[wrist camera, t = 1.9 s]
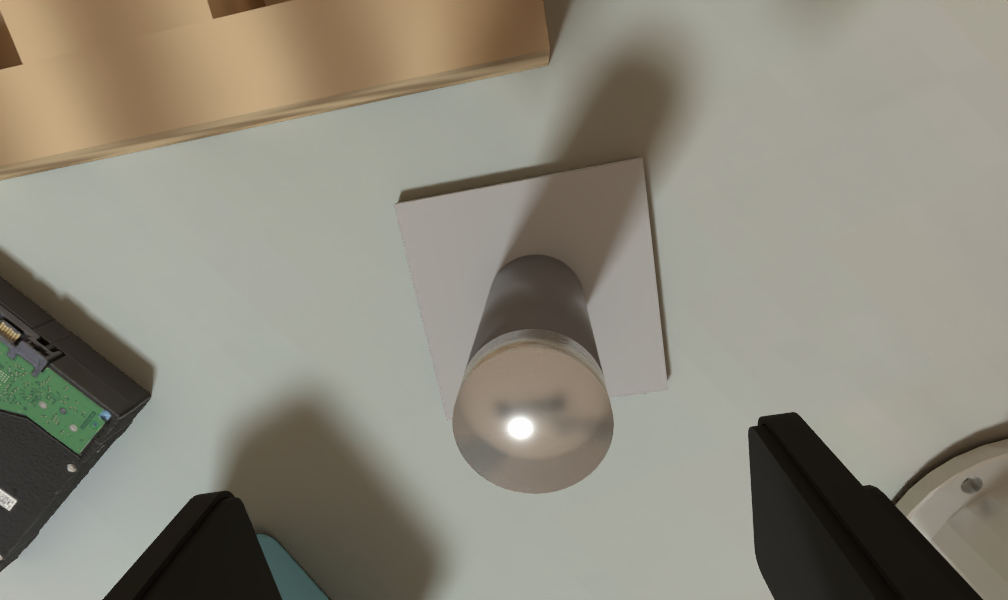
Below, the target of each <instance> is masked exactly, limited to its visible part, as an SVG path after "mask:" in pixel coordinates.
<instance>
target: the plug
mask: <svg viewBox="0 0 1008 600" xmlns="http://www.w3.org/2000/svg"><path fill="white" fill-rule="evenodd" d="M452 422H453V432H454V437H455V440H456V443H457V446H458V448H459V450H460V452H461V454H462V455H463V457H464V458H465V460H466V461H467V463H468V464H469V465H470V466H471V467H472V468H473V469H474V470H475V471H476V472H477V473H478V474H479V475H481V476H482V477H484V478H485V479H486V480H488V481H490V482H492V483H493V484H495V485H497V486H500V487H502V488H505V489H508V490H512V491H516V492H522V493H534V494H536V493H548V492H554V491H558V490H561V489H565V488H567V487H569V486H572V485H574V484H576V483H577V482H579V481H581V480H583V479H584V478H585V477H587V476H588V475H589V474H590V473H591V472H592V471H593V470H595V469H596V468H597V466H598V465H599V464H600V463H601V461H602V460H603V458H604V457H605V455H606V453H607V451H608V449H609V446H610V444H611V440H612V435H613V426H614V423H613V413H612V409H611V404H610V400H609V396H608V392H607V388H606V384H605V380H604V375H603V371H602V367H601V363H600V359H599V355H598V351H597V347H596V342H595V338H594V334H593V330H592V326H591V322H590V318H589V314H588V309H587V305H586V301H585V297H584V293H583V289H582V286H581V283H580V281H579V279H578V277H577V276H576V274H575V273H574V271H573V270H572V269H571V268H570V267H569V266H567V265H566V264H565V263H563V262H562V261H560V260H558V259H556V258H553V257H550V256H547V255H537V254H534V255H526V256H522V257H519V258H517V259H515V260H513V261H511V262H509V263H508V264H506V265H505V266H504V267H503V268H502V269H501V270H500V271H499V272H498V274H497V275H496V277H495V278H494V280H493V282H492V285H491V288H490V291H489V294H488V298H487V301H486V304H485V307H484V311H483V314H482V317H481V320H480V324H479V327H478V330H477V333H476V337H475V340H474V343H473V346H472V350H471V353H470V356H469V359H468V363H467V366H466V369H465V372H464V376H463V379H462V382H461V385H460V389H459V392H458V395H457V398H456V402H455V405H454V409H453V417H452Z"/></svg>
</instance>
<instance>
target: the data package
mask: <svg viewBox="0 0 1008 600" xmlns="http://www.w3.org/2000/svg"><path fill="white" fill-rule="evenodd" d="M256 536H257V538H258V541H259V543H260V546H261V548H262V551H263V553H264V556H265V558H266V560H267V563H268V565H269V568H270V570H271V573H272V575H273V578H274V580H275V583H276V585H277V587H278V590H279V592H280V595H281V597H282V600H329V599H328V598H327V596H326V595H325V594H324V593H323V592H322V591H321V590H320V589H319V588H318V586H317V585H316V584H315V583H314V582H313V581H312V580H311V579H310V578H309V576H308V575H307V574H306V573H305V572H304V571H303V570H302V569H301V567H300V566H299V565H298V564H297V563H296V562H295V561H294V560H293V559H292V557H291V556H290V555H289V554H288V553H287V552H286V551H285V550H284V549H283V547H282V546H281V545H280V544H279V543H278V542H277V541H276V540H275V539H273V538H272V537H270V536H267V535H264V534H256Z"/></svg>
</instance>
